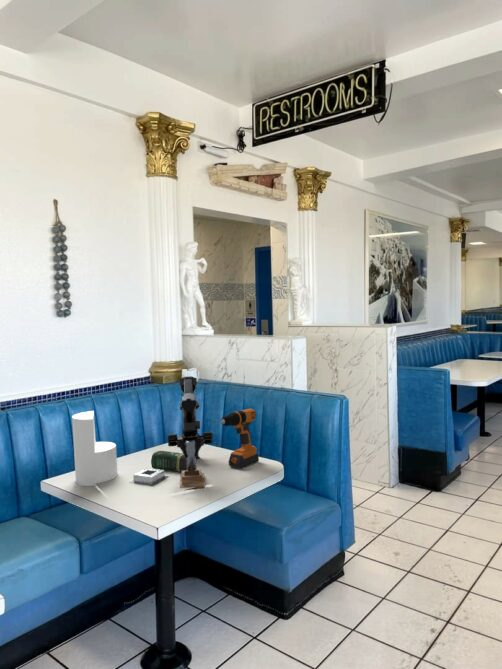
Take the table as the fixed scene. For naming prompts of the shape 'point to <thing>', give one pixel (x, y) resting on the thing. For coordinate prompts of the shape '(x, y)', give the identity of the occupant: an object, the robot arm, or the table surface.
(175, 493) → the table surface
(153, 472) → the socket stand
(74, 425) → the stepped white column
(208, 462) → the table surface
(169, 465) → the coffee jar
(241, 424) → the power drill
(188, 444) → the metal rod
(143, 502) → the table surface
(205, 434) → the robot arm
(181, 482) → the wooden tray
